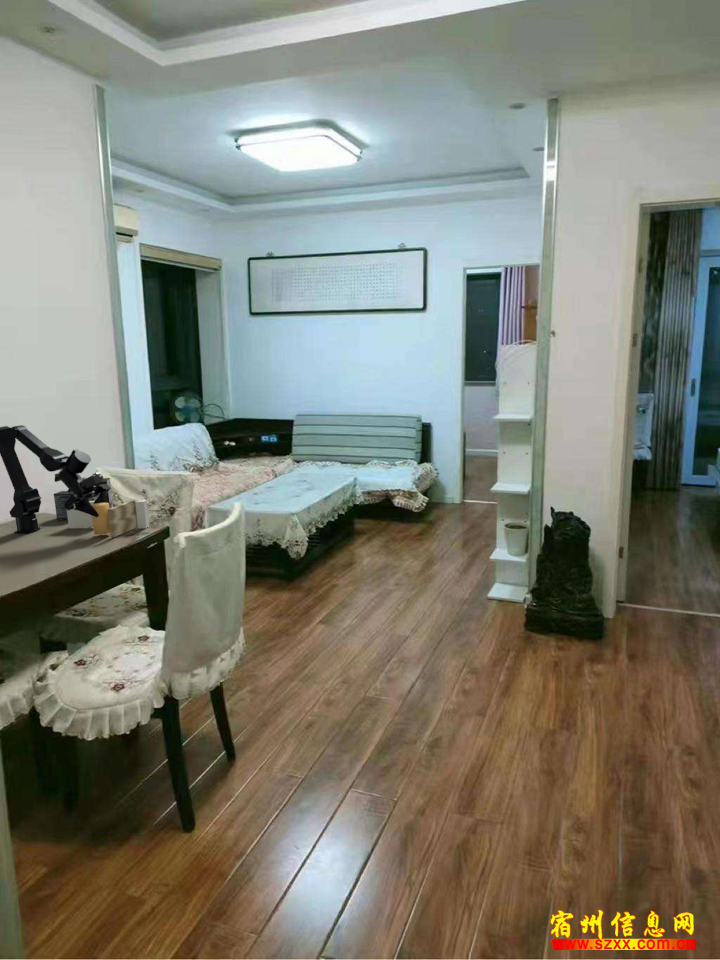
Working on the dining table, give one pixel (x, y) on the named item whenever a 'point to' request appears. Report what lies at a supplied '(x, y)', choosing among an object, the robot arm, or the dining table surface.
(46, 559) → the dining table surface
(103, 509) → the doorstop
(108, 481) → the coffee box
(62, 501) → the small box
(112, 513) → the door
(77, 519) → the wall frame
